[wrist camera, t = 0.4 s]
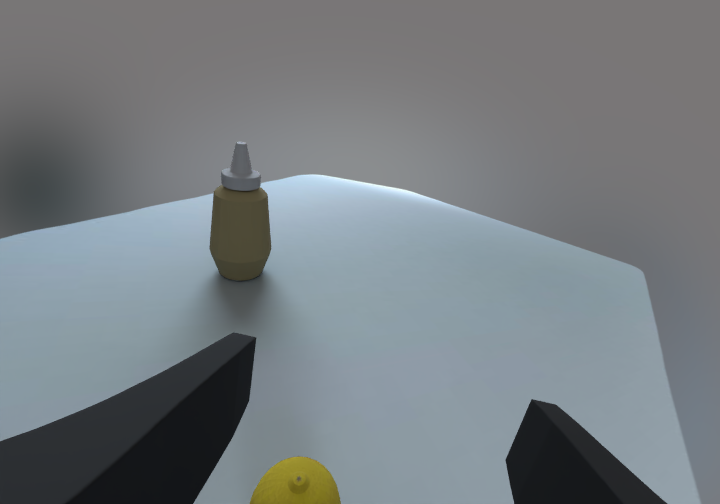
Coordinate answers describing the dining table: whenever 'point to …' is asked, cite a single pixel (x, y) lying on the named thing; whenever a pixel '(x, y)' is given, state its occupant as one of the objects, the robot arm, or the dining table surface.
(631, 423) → the dining table surface
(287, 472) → the lemon
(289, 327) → the dining table surface
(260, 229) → the squeeze bottle
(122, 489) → the robot arm
